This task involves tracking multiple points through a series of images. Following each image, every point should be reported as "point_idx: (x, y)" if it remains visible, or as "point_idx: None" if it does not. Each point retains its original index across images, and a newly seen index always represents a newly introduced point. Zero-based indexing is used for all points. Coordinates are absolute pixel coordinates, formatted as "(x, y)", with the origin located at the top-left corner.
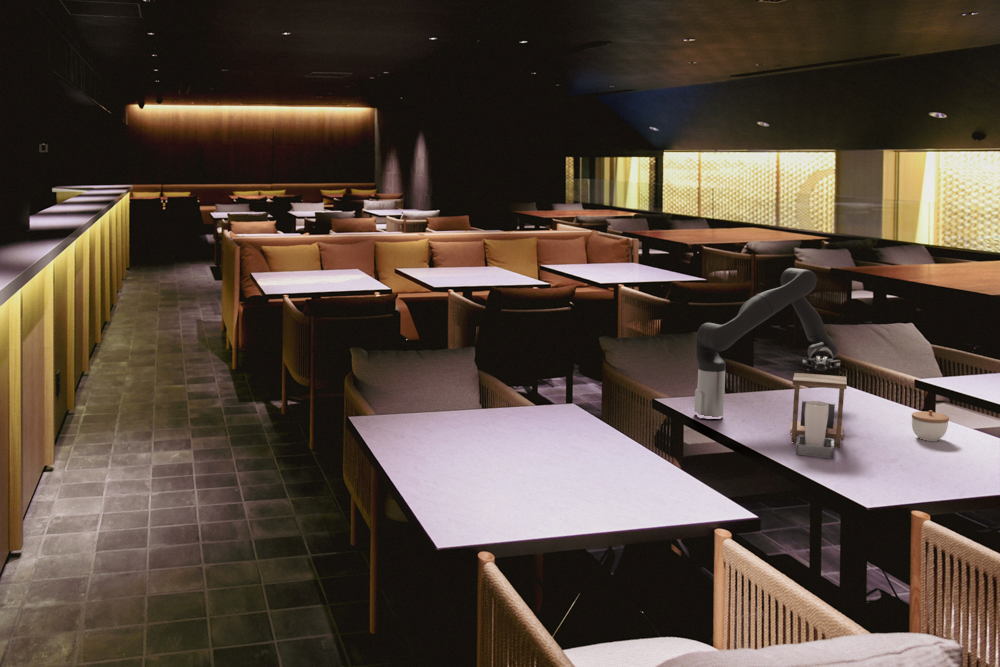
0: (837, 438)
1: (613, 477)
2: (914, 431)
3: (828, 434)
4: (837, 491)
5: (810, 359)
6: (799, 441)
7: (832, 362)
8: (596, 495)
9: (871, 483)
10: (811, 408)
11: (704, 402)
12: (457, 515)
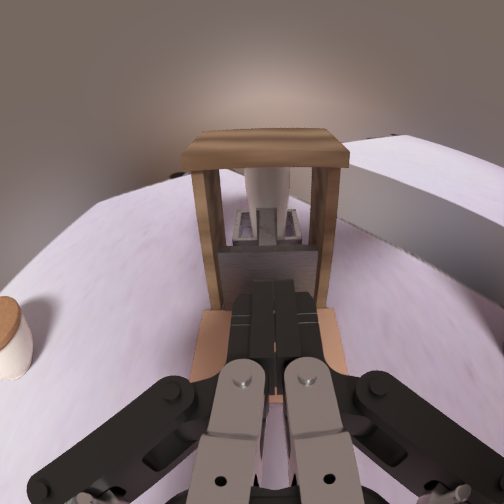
0: None
1: (417, 168)
2: (32, 348)
3: None
4: (241, 176)
5: (413, 394)
6: (293, 218)
7: (138, 404)
8: (401, 155)
9: None
10: None
11: None
12: (429, 144)
